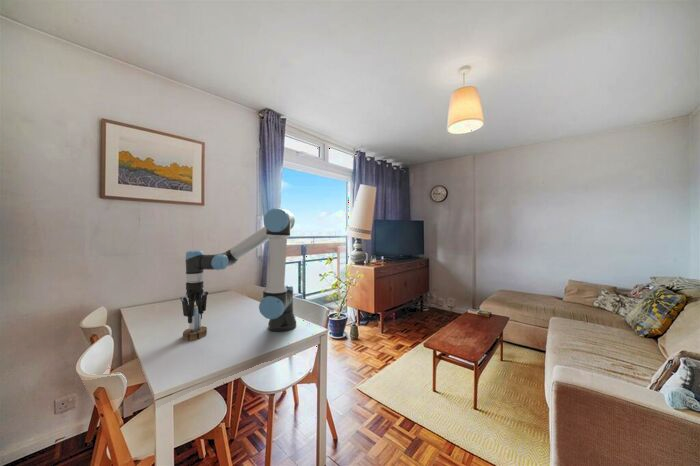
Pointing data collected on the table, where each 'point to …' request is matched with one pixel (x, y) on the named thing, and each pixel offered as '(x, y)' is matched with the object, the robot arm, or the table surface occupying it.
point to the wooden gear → (194, 333)
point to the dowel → (195, 318)
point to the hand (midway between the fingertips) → (195, 327)
